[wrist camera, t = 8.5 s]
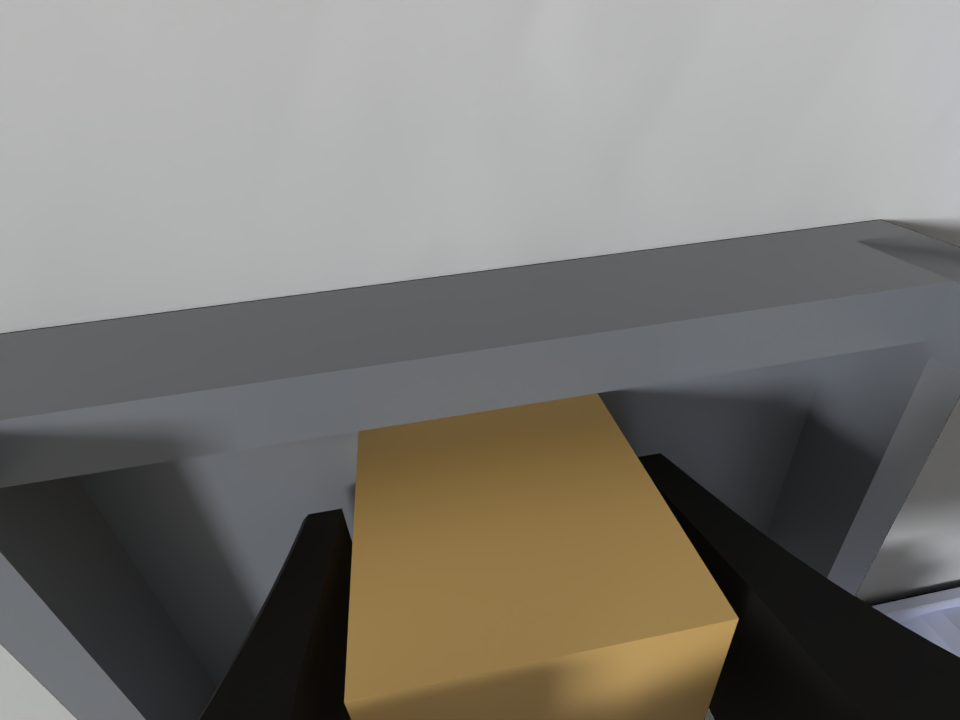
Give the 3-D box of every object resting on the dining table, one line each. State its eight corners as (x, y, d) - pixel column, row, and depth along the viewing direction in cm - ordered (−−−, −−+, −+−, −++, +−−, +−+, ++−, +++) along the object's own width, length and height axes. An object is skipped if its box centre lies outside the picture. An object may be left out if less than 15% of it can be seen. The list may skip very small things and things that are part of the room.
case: (880, 219, 10) (1336, 378, 5) (755, 580, 16) (915, 806, 11) (-42, 339, 8) (-612, 736, 3) (205, 692, 14) (119, 1015, 9)
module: (594, 389, 10) (738, 618, 6) (585, 543, 12) (683, 779, 8) (358, 426, 9) (344, 702, 5) (396, 578, 12) (406, 847, 8)
